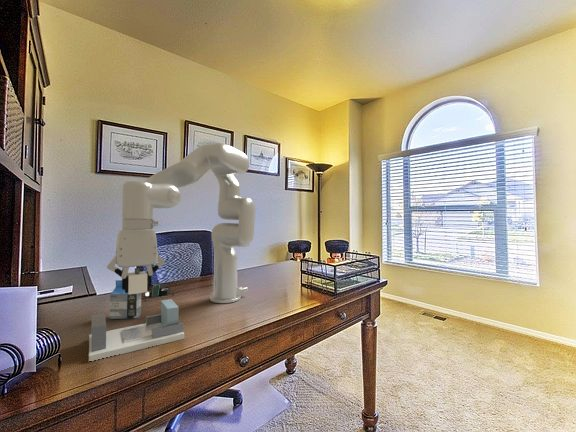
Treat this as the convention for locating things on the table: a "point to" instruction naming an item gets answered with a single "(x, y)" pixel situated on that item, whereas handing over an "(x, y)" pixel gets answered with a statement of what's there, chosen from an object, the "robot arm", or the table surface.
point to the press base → (118, 346)
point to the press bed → (131, 330)
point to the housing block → (137, 282)
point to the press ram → (169, 312)
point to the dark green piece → (160, 290)
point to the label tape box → (124, 303)
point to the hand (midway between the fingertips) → (136, 289)
